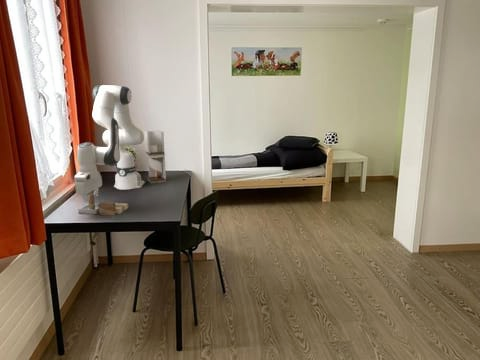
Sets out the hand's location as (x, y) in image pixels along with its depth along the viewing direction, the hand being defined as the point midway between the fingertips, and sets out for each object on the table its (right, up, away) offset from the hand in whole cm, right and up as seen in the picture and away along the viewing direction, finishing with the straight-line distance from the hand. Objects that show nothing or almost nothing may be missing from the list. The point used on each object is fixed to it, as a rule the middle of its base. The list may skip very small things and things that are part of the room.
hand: (91, 198), depth 201 cm
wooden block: (+10, -8, -4) cm, 14 cm away
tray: (0, -7, +1) cm, 7 cm away
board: (+11, -7, +2) cm, 13 cm away
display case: (+20, +9, +67) cm, 71 cm away
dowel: (0, -6, +1) cm, 6 cm away
